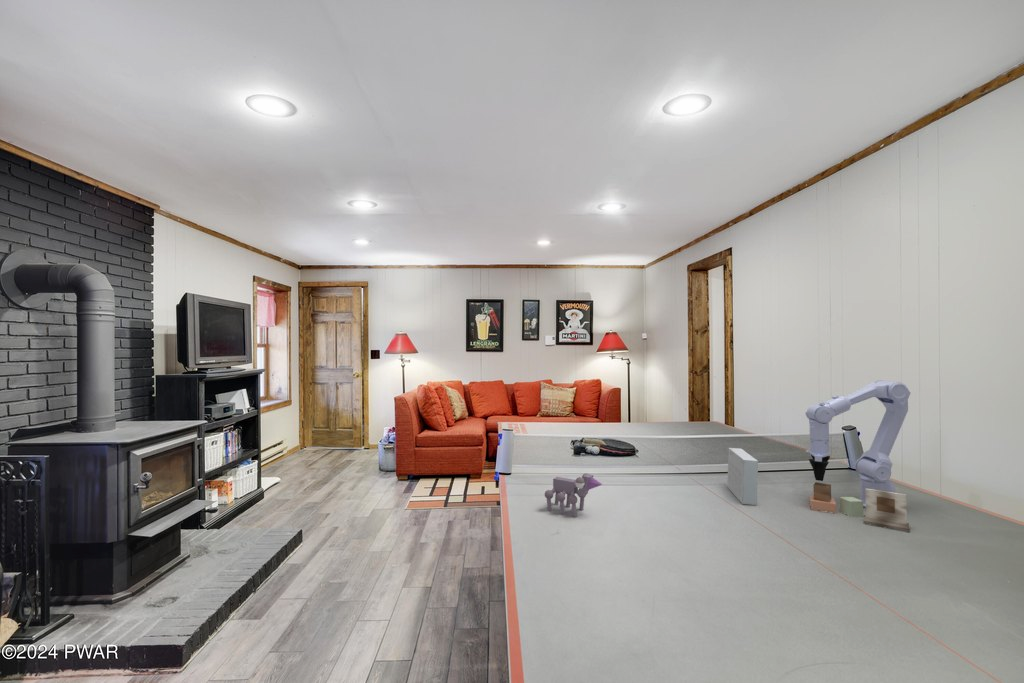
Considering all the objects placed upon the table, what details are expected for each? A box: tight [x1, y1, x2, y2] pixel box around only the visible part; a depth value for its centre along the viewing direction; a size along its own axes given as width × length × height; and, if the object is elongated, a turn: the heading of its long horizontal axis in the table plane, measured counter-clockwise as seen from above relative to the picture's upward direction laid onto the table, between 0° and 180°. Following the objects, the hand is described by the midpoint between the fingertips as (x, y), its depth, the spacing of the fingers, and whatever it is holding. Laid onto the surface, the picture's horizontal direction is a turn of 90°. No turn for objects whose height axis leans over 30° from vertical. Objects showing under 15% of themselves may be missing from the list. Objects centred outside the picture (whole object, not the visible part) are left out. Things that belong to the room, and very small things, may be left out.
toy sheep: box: [544, 473, 603, 518], centre depth 157 cm, size 20×11×14 cm, turn 56°
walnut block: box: [812, 481, 832, 502], centre depth 159 cm, size 4×4×5 cm
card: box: [863, 489, 911, 533], centre depth 144 cm, size 11×6×10 cm, turn 51°
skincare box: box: [726, 447, 759, 506], centre depth 173 cm, size 21×6×16 cm, turn 168°
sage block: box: [839, 496, 864, 517], centre depth 154 cm, size 4×4×5 cm
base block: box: [809, 494, 837, 514], centre depth 159 cm, size 7×7×4 cm
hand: (819, 477), depth 163 cm, fingers open, 7 cm apart
